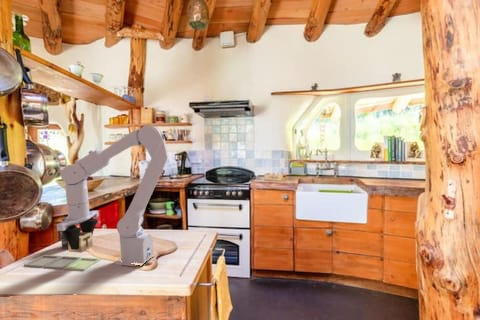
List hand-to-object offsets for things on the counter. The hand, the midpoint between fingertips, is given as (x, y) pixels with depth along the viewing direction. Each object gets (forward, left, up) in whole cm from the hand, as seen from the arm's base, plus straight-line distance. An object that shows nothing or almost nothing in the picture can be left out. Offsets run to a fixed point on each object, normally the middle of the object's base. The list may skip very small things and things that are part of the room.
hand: (81, 245), depth 85 cm
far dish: (+15, 0, -6) cm, 16 cm away
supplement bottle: (+16, -13, -7) cm, 21 cm away
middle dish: (+7, 0, -6) cm, 10 cm away
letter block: (0, 0, -1) cm, 1 cm away
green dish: (0, 0, -6) cm, 6 cm away
